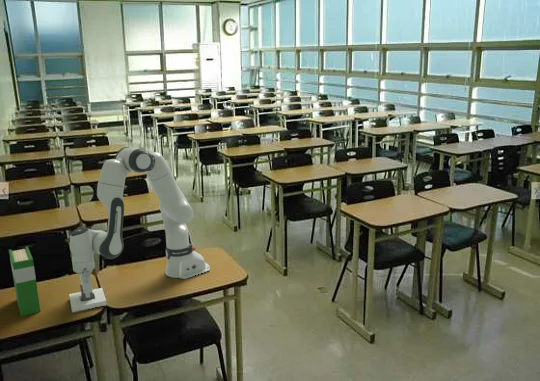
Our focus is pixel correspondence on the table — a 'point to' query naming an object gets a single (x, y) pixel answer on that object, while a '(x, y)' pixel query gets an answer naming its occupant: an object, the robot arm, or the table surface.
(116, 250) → the robot arm
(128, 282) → the table surface
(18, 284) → the hardback book
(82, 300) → the plug
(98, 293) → the socket plate
